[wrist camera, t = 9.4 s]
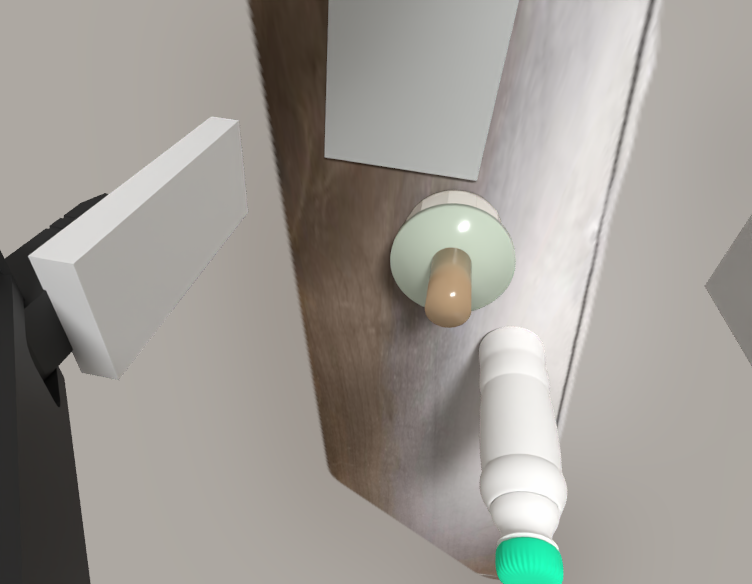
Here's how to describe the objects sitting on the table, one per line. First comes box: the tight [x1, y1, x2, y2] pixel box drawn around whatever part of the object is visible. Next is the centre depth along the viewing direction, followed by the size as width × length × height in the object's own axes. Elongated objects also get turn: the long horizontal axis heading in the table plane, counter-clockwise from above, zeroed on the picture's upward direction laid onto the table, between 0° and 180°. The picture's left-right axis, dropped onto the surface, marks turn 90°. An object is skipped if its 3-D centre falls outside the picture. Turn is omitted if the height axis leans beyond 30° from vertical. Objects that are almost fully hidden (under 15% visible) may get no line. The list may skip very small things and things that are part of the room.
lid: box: [390, 203, 516, 328], centre depth 41 cm, size 11×11×8 cm
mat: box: [325, 0, 519, 181], centre depth 39 cm, size 14×14×1 cm
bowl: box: [406, 190, 501, 222], centre depth 45 cm, size 9×9×4 cm
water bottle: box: [479, 326, 567, 584], centre depth 44 cm, size 7×7×25 cm
